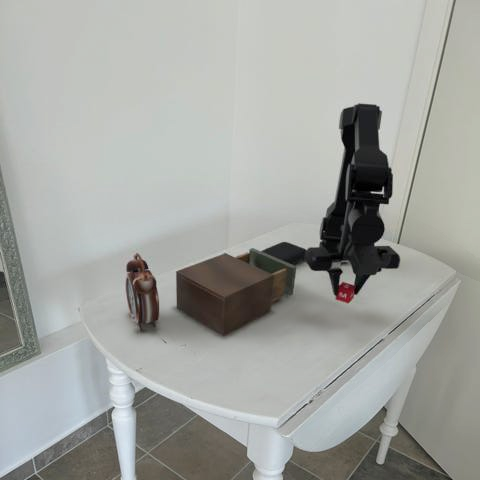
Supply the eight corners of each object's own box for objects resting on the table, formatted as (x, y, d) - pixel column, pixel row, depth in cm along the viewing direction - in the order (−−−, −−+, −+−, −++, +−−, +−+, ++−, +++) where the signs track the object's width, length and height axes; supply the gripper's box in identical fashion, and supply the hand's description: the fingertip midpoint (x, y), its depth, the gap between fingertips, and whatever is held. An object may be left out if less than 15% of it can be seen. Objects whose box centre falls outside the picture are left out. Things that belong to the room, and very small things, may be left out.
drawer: (254, 273, 120) (256, 246, 116) (296, 293, 112) (299, 265, 108) (211, 291, 110) (211, 263, 107) (253, 314, 103) (256, 284, 99)
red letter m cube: (348, 303, 101) (351, 291, 100) (335, 299, 102) (337, 287, 101) (353, 297, 103) (356, 285, 102) (340, 293, 105) (342, 281, 103)
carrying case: (279, 247, 137) (246, 262, 127) (280, 237, 135) (246, 251, 126) (310, 259, 131) (278, 275, 122) (312, 248, 130) (279, 264, 120)
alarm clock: (126, 311, 103) (121, 246, 95) (149, 307, 105) (145, 244, 97) (138, 338, 95) (133, 269, 87) (162, 334, 96) (159, 266, 88)
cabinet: (224, 288, 114) (225, 252, 110) (270, 311, 106) (274, 275, 101) (176, 308, 105) (175, 271, 100) (223, 336, 97) (224, 297, 92)
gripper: (326, 242, 86) (314, 316, 94) (422, 240, 89) (402, 311, 97) (308, 219, 95) (299, 289, 103) (395, 218, 98) (379, 286, 107)
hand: (345, 294), depth 102 cm, fingers closed on red letter m cube, 4 cm apart
